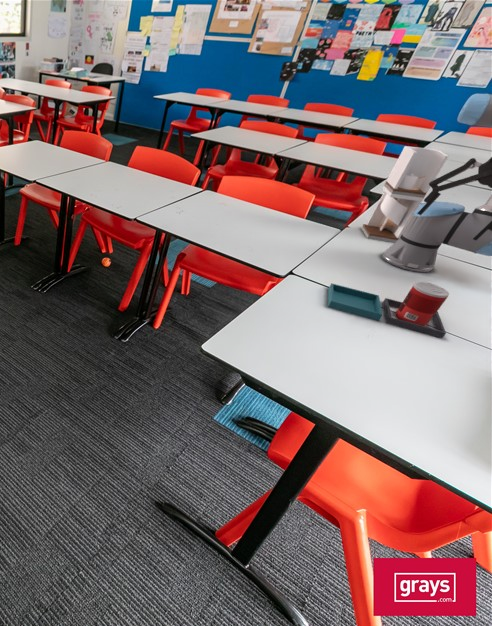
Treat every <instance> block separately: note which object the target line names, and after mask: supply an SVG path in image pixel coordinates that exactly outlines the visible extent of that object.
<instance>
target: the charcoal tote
mask: <svg viewBox="0 0 492 626" xmlns="http://www.w3.org/2000/svg"><path fill="white" fill-rule="evenodd" d="M402 302H403V301H399V300H395V299H390V298H387V297H385V298H384V299H383V301H382V303H381V306H382V311H383V314H384V320H385V323H386V324H387V325H392V326H394V327H395V326H396V327H399V328H403V329H406V330H410V331H413V332H416V333H420V334H424V335H428V336H432V337H436V338H439V339H443V338H444V337H445V335H446V334H447V331H446V329H445V326H444V324H443V322H442V319H441V316H440V314H439V310H438V311H437V312H436V314H435V315H434V316H433V318H432V319H431V320H432V322H433V324H434V327H435V328H433V327H429V326H427V325H425V326H422V325H418V324H414V323H411V322H407V321H403V320H400V319H398V318H397V317H392V312H391V307H392V308H397V309H398V308H399V307H400V305H401V303H402Z"/></svg>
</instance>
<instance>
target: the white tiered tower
mask: <svg viewBox="0 0 492 626" xmlns="http://www.w3.org/2000/svg"><path fill="white" fill-rule="evenodd" d="M448 158H449V155H447V153H445V152H442V151H440V150H439V149H437V148H426V147H418V146H409V145H408V146H407V145H405V146H404V147H403V149H402V151H401V153H400V154H399V156H398V157H397V160H396V162H395V164H394V166H393V167H392V170H391V171H390V173H389V176H388V177H387V179H386V181H385V182H384V185H383V187H382V188H381V190H383V191H384V192H383V193H382V195H381V197H380V198H379V201H378V203H377V204H376V206H375V208H374V209H373V212H372V214H371V215H370V217H369V219H368V221H367V222H366V224H365V223H363V224H362V226H361V228H360V229H361V230H362V232H363V234H364V235H365V237H366V239H371V240H378V241H382V242H383V241H384V242H390V243H393V244H394V243H395V242H396V241H397V240H398V239H399V238H400V237H401V235H402V233H403V231H404V230H405V228H406V227H407V225H408V223H409V221H410V220H411V218H412V216H413V214H414V213H415V211H416V210H417V208H418V207H419V206H420V205H421V204H422V202H423V201H424V199H425V198H426V195H428V192H429V190H430V189H431V188H432V187H431V186H430V185H429V183H430V182H431V181H433V180H435V179H437V178H438V175H439V173H440V172H441V170H442V168H443V167H444V165H445V163H446V162H447V160H448Z"/></svg>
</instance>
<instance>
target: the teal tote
mask: <svg viewBox="0 0 492 626" xmlns="http://www.w3.org/2000/svg"><path fill="white" fill-rule="evenodd" d="M327 307H328V308H330V309H333V310H338V311H340V312H344V313H348V314H352V315H355V316H360V317H362V318H366V319H369V320H373V321H377V322H379V321H380V320H381V318H382V317H383V314H384V313H383V308H382V303H381V299H380V295H379V294H375V293H371V292H367V291H363V290H360V289H356V288H355V289H354V288H351V287H348V286H344V285H339V284H335V283H330V285H329V287H328V289H327Z"/></svg>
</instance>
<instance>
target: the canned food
mask: <svg viewBox="0 0 492 626" xmlns="http://www.w3.org/2000/svg"><path fill="white" fill-rule="evenodd" d="M449 295H450V292H449V291H448V290H447V289H445V288H443V287H441V286H439V285H436V284H433V283H429V282H425V281H424V282H421V281H418V282H415V283H414V284H413V285H412V286H411V288H410V290H409V291H408V293H407V294H406V296H405V297H404V299H403V301H401V302H402V303H401V305H400V307H399V308H397V309H396V311H395V315H394V316H395V318H396V319H400V320H403V321H407V322H411V323H414V324H418V325H422V326H427V325H428V324H430V322H431V320H433V319H432V318H433V316H434V315H435V314H436V312H437V311H438V312H439V310H440V309H441V306H443V304H444V303H445V302H446V300H447V299H448V298H449Z"/></svg>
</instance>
